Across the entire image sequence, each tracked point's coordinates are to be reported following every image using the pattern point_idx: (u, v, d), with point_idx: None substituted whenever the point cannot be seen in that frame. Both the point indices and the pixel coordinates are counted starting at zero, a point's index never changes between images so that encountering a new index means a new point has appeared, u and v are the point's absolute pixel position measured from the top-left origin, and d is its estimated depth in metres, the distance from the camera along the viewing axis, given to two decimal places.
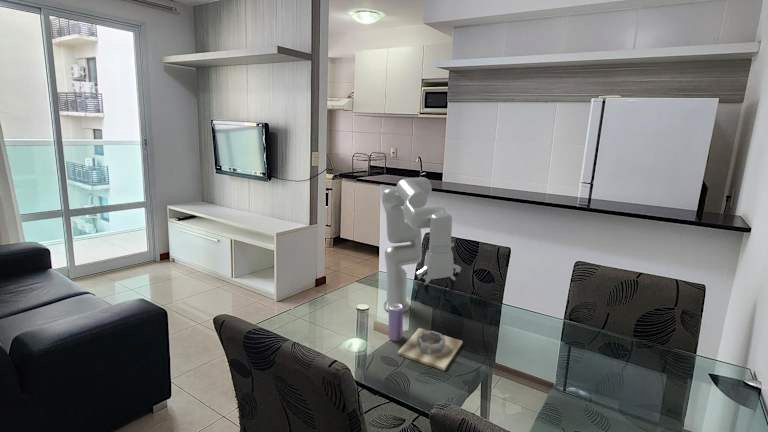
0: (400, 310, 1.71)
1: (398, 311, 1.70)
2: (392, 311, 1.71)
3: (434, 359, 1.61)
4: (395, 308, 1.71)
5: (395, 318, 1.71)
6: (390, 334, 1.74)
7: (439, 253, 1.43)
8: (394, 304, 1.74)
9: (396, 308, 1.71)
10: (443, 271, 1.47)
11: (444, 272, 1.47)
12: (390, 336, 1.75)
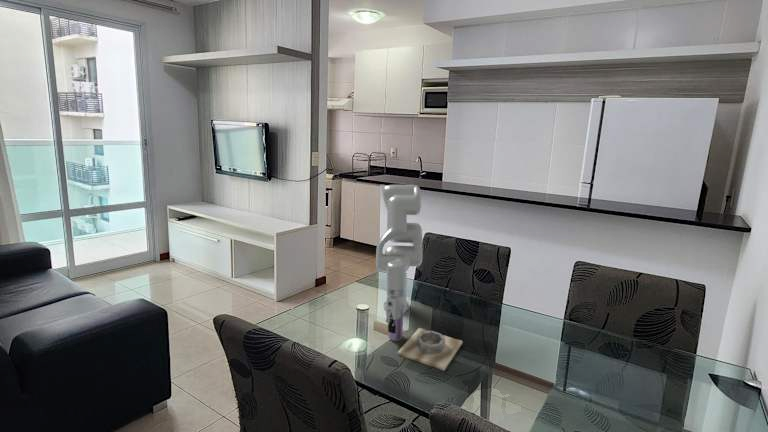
0: None
1: None
2: None
3: (434, 359, 1.61)
4: None
5: None
6: (390, 334, 1.74)
7: None
8: None
9: None
10: None
11: None
12: (390, 336, 1.75)
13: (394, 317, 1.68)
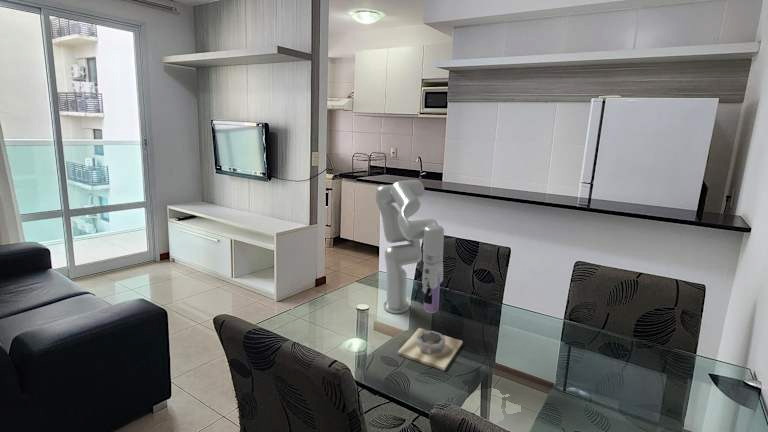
0: None
1: None
2: None
3: (434, 359, 1.61)
4: None
5: None
6: (426, 305, 1.62)
7: None
8: None
9: None
10: None
11: None
12: (426, 307, 1.62)
13: (431, 286, 1.55)
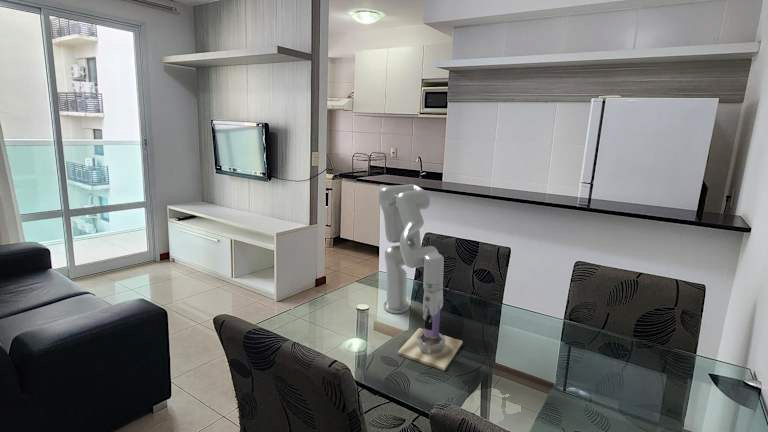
0: None
1: None
2: None
3: (434, 359, 1.61)
4: None
5: None
6: (426, 331, 1.65)
7: None
8: None
9: None
10: None
11: None
12: (426, 333, 1.65)
13: (432, 313, 1.59)
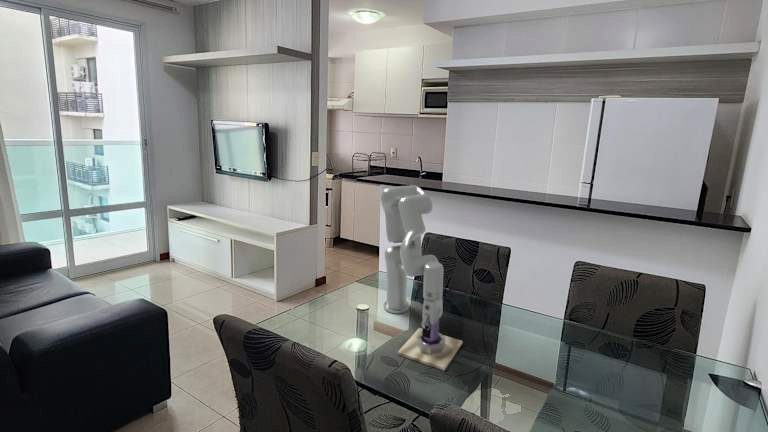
0: None
1: None
2: None
3: (434, 359, 1.61)
4: None
5: (432, 326, 1.63)
6: (426, 342, 1.66)
7: None
8: None
9: None
10: None
11: None
12: None
13: (431, 321, 1.60)
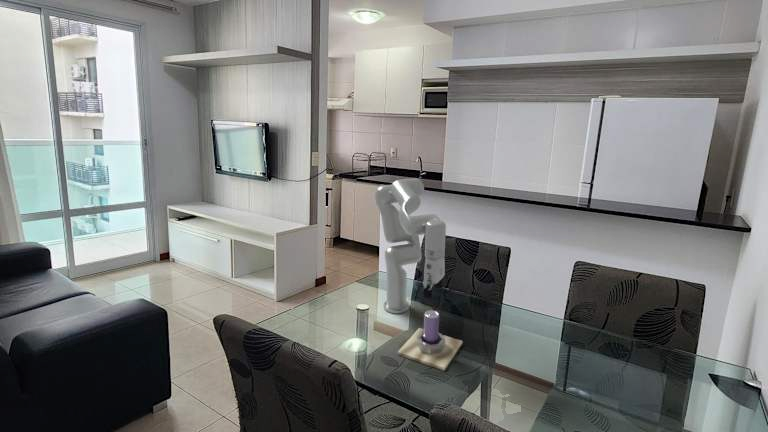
0: (437, 318, 1.63)
1: (435, 319, 1.62)
2: (428, 319, 1.63)
3: (434, 359, 1.61)
4: (431, 316, 1.63)
5: (431, 326, 1.63)
6: None
7: None
8: (429, 311, 1.67)
9: (432, 315, 1.63)
10: None
11: None
12: None
13: (433, 281, 1.55)
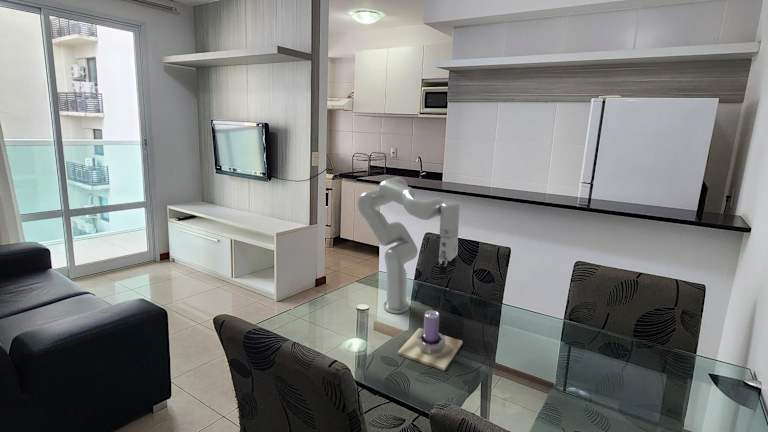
0: (437, 318, 1.63)
1: (435, 319, 1.62)
2: (428, 319, 1.63)
3: (434, 359, 1.61)
4: (431, 315, 1.63)
5: (431, 326, 1.63)
6: None
7: None
8: (429, 311, 1.67)
9: (432, 315, 1.63)
10: None
11: None
12: None
13: (448, 258, 1.68)
